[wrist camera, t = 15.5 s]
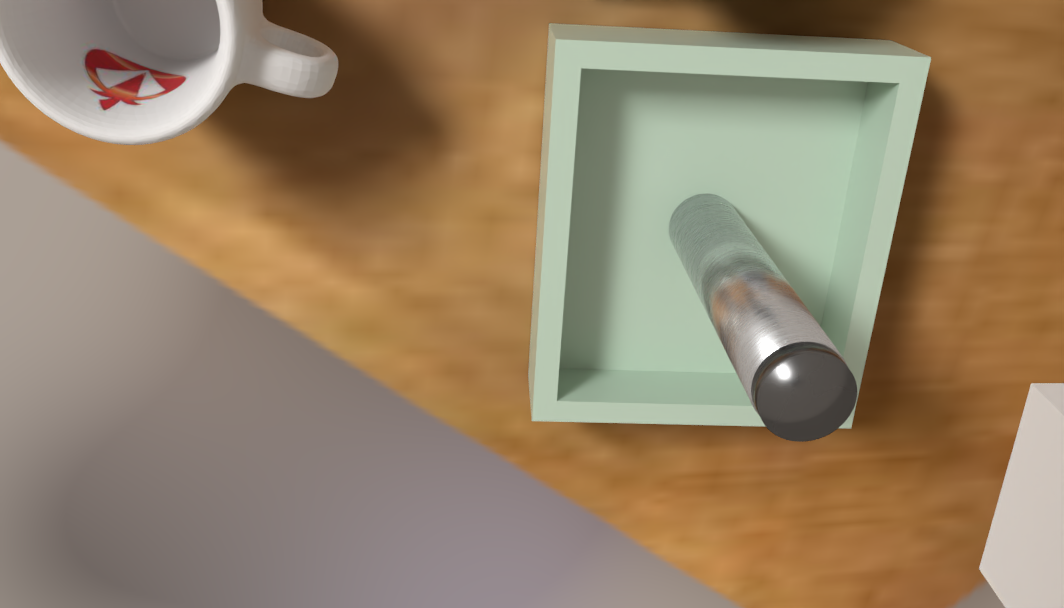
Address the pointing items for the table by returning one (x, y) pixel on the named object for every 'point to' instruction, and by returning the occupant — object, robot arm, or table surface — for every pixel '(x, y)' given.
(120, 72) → the cup
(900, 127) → the tray
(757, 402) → the dark capped cylinder
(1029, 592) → the robot arm
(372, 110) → the table surface
